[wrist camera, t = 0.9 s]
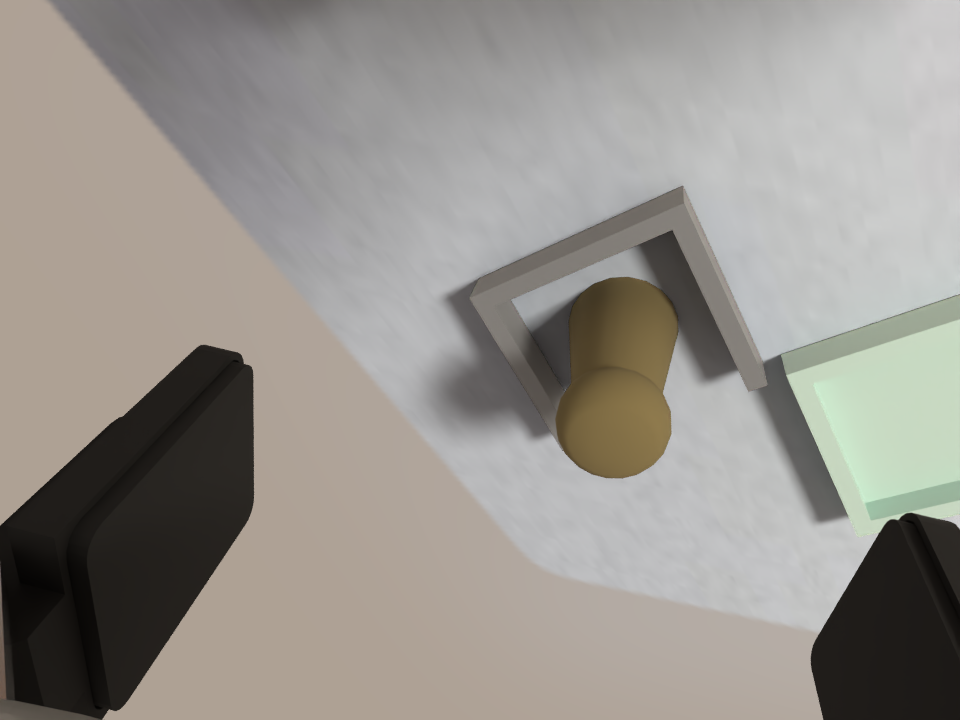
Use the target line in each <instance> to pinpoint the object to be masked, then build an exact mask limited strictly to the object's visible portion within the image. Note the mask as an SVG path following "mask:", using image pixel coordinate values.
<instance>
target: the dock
mask: <svg viewBox="0 0 960 720" xmlns="http://www.w3.org/2000/svg"><path fill="white" fill-rule="evenodd" d="M671 230H673V232H674V235H675V237H676V239H677V241H678V243H679V245H680V247H681V249H682V252H683V254H684V256H685V258H686V260H687V262H688V264H689V266H690V269H691V271H692V273H693V275H694V277H695V279H696V281H697V283H698V286H699V288H700V290H701V292H702V294H703V296H704V298H705V300H706V302H707V305H708V307H709V309H710V311H711V313H712V315H713V317H714V319H715V322H716V324H717V326H718V328H719V330H720V332H721V334H722V336H723V339H724V341H725V343H726V345H727V347H728V349H729V351H730V353H731V356H732V358H733V360H734V362H735V364H736V366H737V368H738V370H739V373H740V375H741V377H742V379H743V381H744V383H745V385H746V387H747V390H748V392H749V391H752V390H755V389H759V388H762V387H765V386H768V385H767V380H766V375H765V371H764V366H763V361H762V359H761V357H760V354H759V352H758V350H757V348H756V346H755V343H754V341H753V339H752V337H751V335H750V332H749V330H748V328H747V326H746V323H745V321H744V319H743V317H742V315H741V312H740V310H739V308H738V306H737V304H736V301H735V299H734V297H733V295H732V293H731V290H730V288H729V286H728V284H727V282H726V279H725V277H724V275H723V273H722V271H721V268H720V266H719V264H718V262H717V260H716V257H715V255H714V253H713V251H712V249H711V246H710V244H709V242H708V240H707V237H706V235H705V233H704V231H703V229H702V226H701V224H700V222H699V220H698V218H697V215H696V213H695V211H694V209H693V207H692V204H691V202H690V200H689V198H688V196H687V193H686V191H685V189H684V187H683V186H682V187H679V188H677V189H675V190H673V191H671V192H668V193H666V194H664V195H662V196H660V197H657V198H655V199H653V200H651V201H648V202H646V203H644V204H642V205H640V206H637V207H635V208H633V209H631V210H629V211H626V212H624V213H622V214H620V215H618V216H615V217H613V218H611V219H609V220H607V221H604V222H602V223H600V224H598V225H596V226H593V227H591V228H589V229H587V230H585V231H582V232H580V233H578V234H576V235H574V236H571V237H569V238H567V239H565V240H563V241H560V242H558V243H556V244H554V245H552V246H549V247H547V248H545V249H543V250H541V251H538V252H536V253H534V254H532V255H530V256H527V257H525V258H523V259H521V260H519V261H516V262H514V263H512V264H510V265H508V266H505V267H503V268H501V269H499V270H497V271H494V272H492V273H490V274H488V275H485V276H483V277H481V278H479V279H478V281H477V283H476V285H475V287H474V289H473V291H472V293H471V296H470V298H469V299H470V300H471V302H472V304H473V305H474V307H475V309H476V310H477V312H478V314H479V315H480V317H481V318H482V320H483V322H484V323H485V325H486V327H487V328H488V330H489V332H490V333H491V335H492V336H493V338H494V340H495V341H496V343H497V345H498V346H499V348H500V350H501V351H502V353H503V354H504V356H505V358H506V359H507V361H508V363H509V364H510V366H511V367H512V369H513V371H514V372H515V374H516V376H517V377H518V379H519V381H520V382H521V384H522V385H523V387H524V389H525V390H526V392H527V394H528V395H529V397H530V399H531V400H532V402H533V403H534V405H535V407H536V408H537V410H538V412H539V413H540V415H541V417H542V418H543V420H544V421H545V423H546V425H547V426H548V428H549V430H550V431H551V433H552V435H553V436H554V438H555V439H556V441H557V443H558V444H559V446H560V448H561V449H562V451H564V450H563V448H562V446H561V445H560V443H559V441H558V436H557V430H556V422H555V418H556V414H557V410H558V406H559V402H560V399H561V397H562V396H563V394H564V393H565V392H564V390H563V388H562V386H561V385H560V383H559V381H558V380H557V378H556V376H555V375H554V373H553V371H552V369H551V368H550V366H549V364H548V363H547V361H546V359H545V357H544V356H543V354H542V352H541V351H540V349H539V347H538V346H537V344H536V342H535V340H534V339H533V337H532V335H531V334H530V332H529V330H528V329H527V327H526V325H525V323H524V322H523V320H522V318H521V317H520V315H519V313H518V312H517V310H516V308H515V306H514V305H513V303H512V301H511V299H513V298H515V297H518V296H520V295H522V294H525V293H527V292H529V291H532V290H534V289H536V288H539V287H541V286H543V285H546V284H548V283H550V282H553V281H555V280H557V279H559V278H562V277H564V276H566V275H569V274H571V273H573V272H576V271H578V270H580V269H583V268H585V267H587V266H590V265H592V264H594V263H597V262H599V261H601V260H604V259H606V258H608V257H611V256H613V255H615V254H618V253H620V252H622V251H624V250H627V249H629V248H631V247H634V246H636V245H638V244H641V243H643V242H645V241H648V240H650V239H652V238H655V237H657V236H659V235H662V234H664V233H666V232H669V231H671Z"/></svg>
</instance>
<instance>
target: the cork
mask: <svg viewBox="0 0 960 720" xmlns="http://www.w3.org/2000/svg"><path fill="white" fill-rule="evenodd" d="M677 335H678V316H677V313H676V311H675V308H674V306H673V304H672V302H671V301H670V299H669V298H668V297H667V296H666V295H665V294H664V293H663V292H662V291H661V290H660V289H659V288H657V287H655V286H653V285H652V284H650V283H648V282H647V281H643V280H639V279H635V278H631V277H619V278H609V279H606V280H603V281H601V282H598V283H595V284H593V285H592V286H591V287H589V288H588V289H587V290H585V291H584V292H583V293H581V295H580V296H579V297H578V299H577V300H576V302H575V303H574V305H573V306H572V310H571V314H570V318H569V340H570V365H571V385H570V386H569V387H568V389H567V390H566V391H565V393H564V394H563V396H562V397H561V399H560V402H559V406H558V410H557V414H556V418H555V422H556V430H557V436H558V441H559V443H560V445H561V446H562V448H563V450H564V452H565V454H566V455H567V456H568V457H569V458H570V459H571V460H572V461H573V462H574V463H575V464H576V465H577V466H578V467H580V468H581V469H583V470H585V471H587V472H589V473H591V474H593V475H597V476H601V477H604V478H625V477H629V476H634V475H637V474H639V473H641V472H642V471H644V470H646V469H648V468H649V467H651V466H652V465H654V464H655V463H656V461H657V460H658V459H659V458H660V457H661V456H662V455H663V453H664V451H665V449H666V446H667V444H668V441H669V439H670V436H671V411H670V409H669V406H668V404H667V402H666V400H665V397H664V395H663V390H664V386H665V382H666V378H667V374H668V370H669V366H670V362H671V358H672V354H673V350H674V346H675V342H676V339H677Z"/></svg>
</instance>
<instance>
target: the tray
mask: <svg viewBox="0 0 960 720" xmlns="http://www.w3.org/2000/svg"><path fill="white" fill-rule="evenodd" d="M781 357H782V361H783V365H784V369H785V373H786V376H787V378H788V381H789V383H790V385H791V387H792V390H793V392H794V394H795V397H796V399H797V401H798V403H799V406H800V408H801V410H802V412H803V415H804V417H805V419H806V421H807V424H808V426H809V428H810V430H811V433H812V435H813V437H814V439H815V442H816V444H817V446H818V448H819V451H820V453H821V455H822V457H823V460H824V462H825V464H826V467H827V469H828V471H829V473H830V476H831V478H832V480H833V482H834V485H835V487H836V489H837V491H838V494H839V496H840V498H841V500H842V503H843V505H844V507H845V509H846V512H847V514H848V516H849V518H850V521H851V523H852V525H853V528H854V530H855V532H856V534H857V537H861V536H866V535H870V534H874V533H879V532H880V531H881V529H882V528H883V526H884V525H885V524H886V522H887V521H889V520H890V519H896V520H899V519H900V517H901V516H903V515H904V514H906V513H915V514H919V515H924V516H928V517H932V518H936V519H941V518H946V517H950V516H955V515H959V514H960V295H957V296H955V297H952V298H949V299H946V300H943V301H940V302H937V303H934V304H931V305H928V306H925V307H922V308H919V309H916V310H913V311H910V312H907V313H904V314H901V315H898V316H895V317H892V318H889V319H886V320H883V321H880V322H877V323H874V324H871V325H868V326H865V327H862V328H859V329H856V330H853V331H850V332H847V333H844V334H841V335H838V336H835V337H832V338H829V339H826V340H823V341H820V342H817V343H814V344H811V345H808V346H805V347H802V348H799V349H796V350H793V351H790V352H787V353H784V354H781Z"/></svg>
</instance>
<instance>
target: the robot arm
mask: <svg viewBox="0 0 960 720" xmlns="http://www.w3.org/2000/svg"><path fill="white" fill-rule="evenodd" d="M253 434H254V427H253V370H252V367H251V366H249V365H246V364H244V362H243V358H242V355H241V354H239V353H237V352H233V351H229V350H225V349H220V348H216V347H212V346H208V345H200V346H199V347H197V348H196V349H195V350H194V351H193V352H191V353H190V355H188V356H187V357H186V358H185V359H184V360H183V361H182V362H181V363H180V364H179V365H178V366H176V367H175V368H174V369H173V370H172V371H171V372H170V373H169V374H168V375H167V376H166V377H165V378H164V379H163V380H162V381H160V382H159V383H158V384H157V385H156V386H155V387H154V388H153V389H152V390H151V391H150V392H149V393H148V394H146V396H144V397H143V398H142V399H141V400H140V401H139V402H138V403H137V404H136V405H135V406H134V407H133V408H131V409H130V410H129V411H128V412H127V413H126V414H125V415H124V416H123V417H119V418H118V419H116V420H115V421H114V422H112V423H111V424H110V425H109V426H107V427H106V428H105V429H104V430H103V431H102V432H101V433H100V434H99V435H98V436H97V437H96V438H95V439H93V440H92V441H91V442H90V443H89V444H88V445H87V446H86V447H85V448H84V449H83V450H82V451H80V453H78V454H77V455H76V456H75V457H74V458H73V459H72V460H71V461H70V462H69V463H68V464H67V465H66V466H64V467H63V468H62V469H61V470H60V471H59V472H58V473H57V474H56V475H55V476H53V477H52V478H51V479H50V480H49V481H48V482H47V483H46V484H45V485H44V486H43V487H42V488H40V489H39V490H38V491H37V492H36V493H35V494H34V495H33V496H32V497H31V498H30V499H29V500H27V501H26V502H25V503H24V504H23V505H22V506H21V507H20V508H19V509H18V510H17V511H16V512H15V513H13V514H12V515H11V516H10V517H9V518H8V519H7V520H6V521H5V522H4V523H3V524H2V525H1V526H0V720H102V719H103V717H104V716H105V714H106V713H107V711H108V710H109V709H110V710H113V711H117V710H119V709H121V708H122V707H123V706H124V705H125V704H126V702H127V701H128V700H129V698H130V697H131V695H132V694H133V692H134V691H135V689H136V688H137V686H138V685H139V683H140V682H141V680H142V678H143V677H144V676H145V674H146V673H147V671H148V670H149V668H150V667H151V665H152V664H153V662H154V661H155V659H156V658H157V656H158V655H159V653H160V651H161V650H162V649H163V647H164V645H165V644H166V643H167V641H168V640H169V638H170V636H171V635H172V634H173V632H174V631H175V629H176V628H177V626H178V625H179V623H180V621H181V620H182V619H183V617H184V616H185V614H186V613H187V611H188V610H189V608H190V607H191V605H192V604H193V602H194V601H195V599H196V598H197V596H198V595H199V593H200V592H201V590H202V589H203V587H204V585H205V584H206V583H207V581H208V580H209V578H210V577H211V575H212V574H213V572H214V571H215V569H216V567H217V566H218V565H219V563H220V562H221V560H222V559H223V557H224V556H225V554H226V553H227V551H228V550H229V548H230V547H231V545H232V544H233V542H234V541H235V539H236V538H237V536H238V535H239V533H240V532H241V530H242V529H243V527H244V526H245V524H246V523H247V521H248V519H249V517H250V514H251V511H252V507H253V501H254V447H253V446H254V443H253V442H254V441H253V440H254V435H253ZM811 668H812V673H813V677H814V681H815V685H816V690H817V694H818V697H819V702H820V707H821V711H822V715H823V720H960V529H959V528H958V527H957V525H956V524H954V523H952V522H949V521H945V520H940V519H936V518H932V517H928V516H924V515H919V514H915V513H906V514H904V515H903V516H901V517H900V519H899V520H896V519H890V520H889V521H887V522H886V524H885V525H884V526H883V528H882V529H881V531H880V533H879V535H878V536H877V538H876V540H875V541H874V543H873V545H872V546H871V548H870V550H869V551H868V553H867V555H866V556H865V558H864V560H863V561H862V563H861V565H860V566H859V568H858V570H857V571H856V573H855V575H854V576H853V578H852V580H851V582H850V583H849V585H848V587H847V588H846V590H845V592H844V593H843V595H842V597H841V598H840V600H839V602H838V603H837V605H836V607H835V608H834V610H833V612H832V613H831V615H830V617H829V618H828V620H827V622H826V623H825V625H824V627H823V629H822V630H821V632H820V634H819V635H818V637H817V639H816V640H815V643H814V645H813V648H812V653H811Z"/></svg>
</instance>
